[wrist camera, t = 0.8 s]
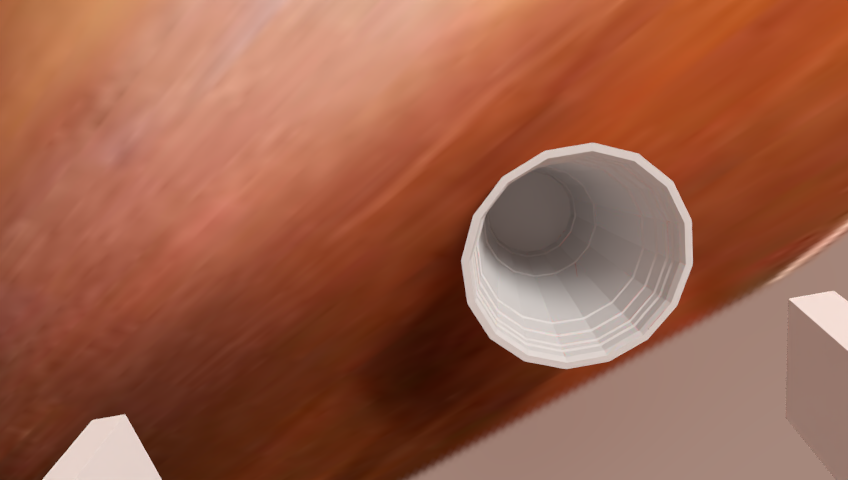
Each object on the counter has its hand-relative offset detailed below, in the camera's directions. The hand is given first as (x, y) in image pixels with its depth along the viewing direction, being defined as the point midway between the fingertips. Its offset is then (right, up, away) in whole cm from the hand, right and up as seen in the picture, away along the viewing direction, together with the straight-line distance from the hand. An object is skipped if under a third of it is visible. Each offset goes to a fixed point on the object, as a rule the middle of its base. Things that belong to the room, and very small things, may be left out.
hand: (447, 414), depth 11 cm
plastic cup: (+7, +5, +26) cm, 27 cm away
